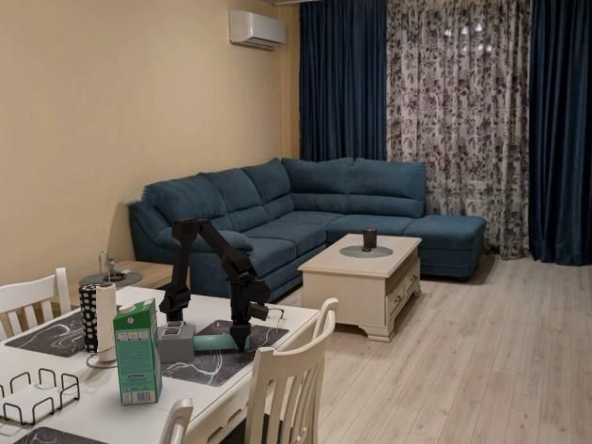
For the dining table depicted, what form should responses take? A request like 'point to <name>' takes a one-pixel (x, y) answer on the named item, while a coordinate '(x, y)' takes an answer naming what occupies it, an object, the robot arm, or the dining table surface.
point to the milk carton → (138, 353)
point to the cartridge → (216, 342)
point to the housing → (176, 343)
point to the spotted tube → (89, 316)
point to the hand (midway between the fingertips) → (242, 346)
